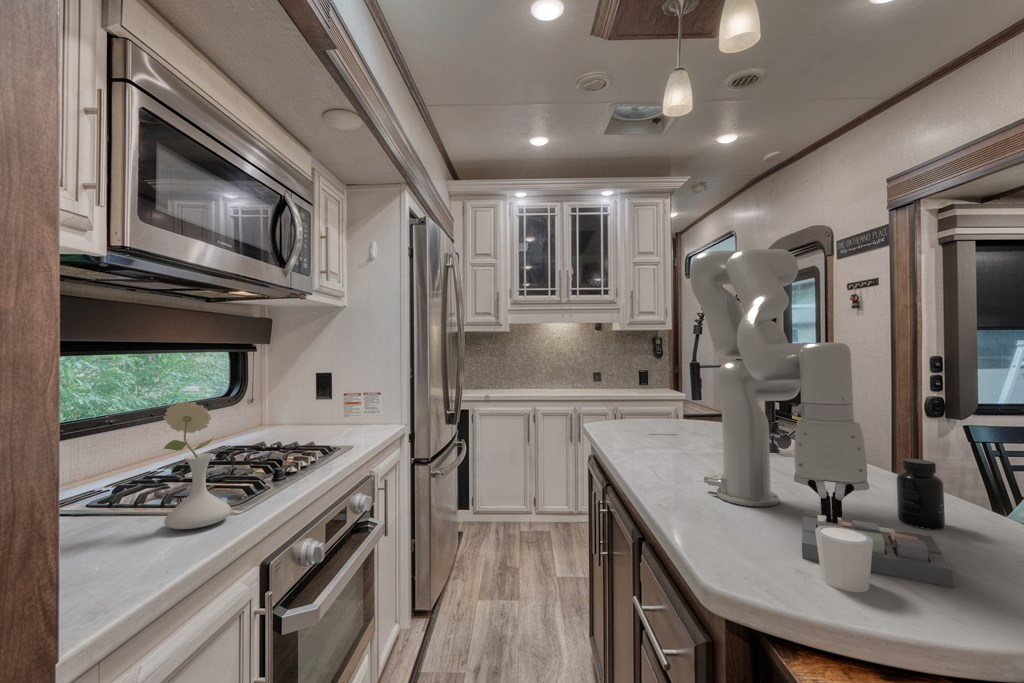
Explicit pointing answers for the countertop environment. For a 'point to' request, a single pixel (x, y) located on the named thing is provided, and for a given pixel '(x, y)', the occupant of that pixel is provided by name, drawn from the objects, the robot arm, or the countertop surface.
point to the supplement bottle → (920, 495)
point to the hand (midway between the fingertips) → (831, 520)
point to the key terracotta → (899, 536)
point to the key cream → (823, 521)
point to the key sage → (876, 542)
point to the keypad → (892, 553)
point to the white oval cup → (844, 557)
